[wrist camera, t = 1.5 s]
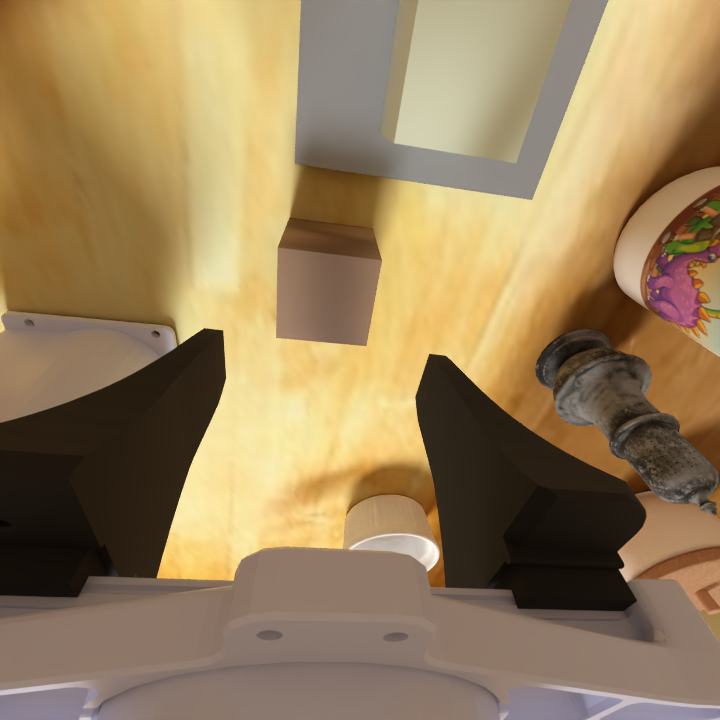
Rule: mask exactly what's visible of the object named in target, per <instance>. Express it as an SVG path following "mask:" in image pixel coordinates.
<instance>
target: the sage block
mask: <svg viewBox="0 0 720 720" xmlns="http://www.w3.org/2000/svg"><path fill="white" fill-rule="evenodd" d="M571 1H572V0H399V6H398V13H397V20H396V27H395V33H394V40H393V47H392V54H391V60H390V67H389V74H388V80H387V87H386V94H385V101H384V107H383V114H382V121H381V128H380V134H381V135H382V136H384V137H385V138H387V139H388V140H390V141H391V142H393V143H395V144H401V145H407V146H413V147H420V148H426V149H432V150H438V151H444V152H450V153H456V154H462V155H468V156H474V157H480V158H486V159H493V160H499V161H505V162H511V163H516V162H517V159H518V156H519V153H520V150H521V147H522V144H523V141H524V138H525V136H526V133H527V130H528V127H529V124H530V121H531V118H532V115H533V112H534V109H535V106H536V103H537V100H538V97H539V94H540V92H541V89H542V86H543V83H544V80H545V77H546V74H547V71H548V68H549V65H550V62H551V59H552V56H553V53H554V50H555V48H556V45H557V42H558V39H559V36H560V33H561V30H562V27H563V24H564V21H565V18H566V15H567V12H568V9H569V6H570V4H571Z"/></svg>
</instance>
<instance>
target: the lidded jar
mask: <svg viewBox="0 0 720 720" xmlns="http://www.w3.org/2000/svg"><path fill="white" fill-rule="evenodd" d="M635 496H636V497H637V498H638V500H639V501H640V502H641V504H642V505H643V507H644V508H645V509H646V515H647V517H646V520H645V523H644V525H643V527H642V528H641V529H640V531H639V532H638V533H637V534H636V535H635V536H634V537H633V538H632V539H631V540H629V541H628V542H627V543H626V544H625V545H624V546H623V547H622V548H621V549H620V550H619V551H618V554H619V555H620V557H621V559H622V560H623V562H624V568H622V569H619V570H620V572H621V574H622V576H623V577H624V579H625V581H626V582H627V581H630V580H633V579H640V578H645V579H671V580H675V581H678V583H679V584H680V585H681V587H682V588H683V590H684V591H685V593H686V594H687V596H688V597H689V598H690V600H691V601H692V603H693V604H694V606H695V607H696V608H697V610H698V611H701V610H706V611H707V613H708V614H716V613H719V612H720V607H719V605H720V519H719V518H718V517H717V516H715V515H712V514H709V513H707V512H705V511H700V505H698V504H692V503H690V504H674V503H670V502H668V501H665V500H662V499H661V498H659V497H658V496H657V495H656V494H655V493H653V491H645V492H640V493H637V494H635Z"/></svg>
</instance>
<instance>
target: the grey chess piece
mask: <svg viewBox="0 0 720 720" xmlns="http://www.w3.org/2000/svg"><path fill="white" fill-rule="evenodd" d="M536 376H537V378H538V380H539V382H540V383H541V384H542V385H544V386H545V387H547V388H549V389H552V390H553V395H554V400H555V410H556V412H557V413H558V415H559V417H560V418H561V419H563V420H564V421H565V422H567V423H570V424H573V425H577V426H593V425H596V426H598V428H599V429H600V430H601V431H602V433H603V434H604V435H605V436H606V438H607V439H608V440H609V441H610V443H609V449H610V451H611V453H612V454H613V455H614V456H616V457H618V458H621V459H626V460H627V461H628V462H629V463H630V465H631V466H632V467H633V468H634V469H635V471H636V472H637V473H638V474H639V476H640V477H641V478H642V479H643V480H644V482H645V483H646V484H647V485H648V487H649V488H650V489H651V490H652V491H653V493H655V494H656V495H657V496H658V497H659V498H661V499H662V500H665V501H668V502H670V503H674V504H690V503H692V504H697V503H698V504H699V505H700V511H705V512H707V513H709V514H712V515H717V513H716V511H717V508H716V507H715V506H716V503H715V502H711V501H709V499H708V498H709V497H710V495H711V494H712V493H713V492H714V491H715V490H716V488H717V486H718V484H719V474H718V471H717V469H716V468H715V466H714V465H713V464H712V463H711V462H710V461H709V460H707V459H706V458H705V457H704V456H703V455H702V454H701V453H700V452H699V451H698V450H697V449H696V448H695V447H694V446H693V445H692V444H691V443H690V442H689V441H688V440H687V439H685V438H684V437H683V436H682V435H681V434H680V433H679V428H680V424H679V421H678V420H677V419H676V418H675V417H674V416H672V415H669V414H665V413H660V412H659V411H658V410H657V409H656V408H655V407H654V406H653V405H652V404H651V403H650V402H649V401H648V400H647V399H646V398H645V396H644V395H645V394H646V393H647V391H648V388H649V386H650V384H651V376H652V373H651V370H650V367H649V365H648V364H647V363H646V362H645V361H644V360H643V359H641V358H639V357H637V356H635V355H630V354H625V353H623V352H621V351H617V350H614V349H612V344H611V341H610V339H609V338H608V337H607V336H606V335H605V334H604V333H602V332H600V331H598V330H593V329H581V330H575V331H572V332H569V333H566V334H564V335H562V336H561V337H559V338H557V339H556V340H554V341H553V342H552V343H550V344H549V345H548V346H547V347H546V348H545V350H544V351H543V352H542V353H541V355H540V357H539V359H538V361H537V364H536Z"/></svg>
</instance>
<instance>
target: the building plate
mask: <svg viewBox="0 0 720 720" xmlns="http://www.w3.org/2000/svg"><path fill="white" fill-rule="evenodd" d="M607 2H608V0H572V1H571V4H570V6H569V9H568V12H567V15H566V18H565V21H564V24H563V27H562V30H561V33H560V36H559V39H558V42H557V45H556V48H555V50H554V53H553V56H552V59H551V62H550V65H549V68H548V71H547V74H546V77H545V80H544V83H543V86H542V89H541V92H540V94H539V97H538V100H537V103H536V106H535V109H534V112H533V115H532V118H531V121H530V124H529V127H528V130H527V133H526V136H525V138H524V141H523V144H522V147H521V150H520V153H519V156H518V159H517V162H516V163H511V162H505V161H499V160H493V159H486V158H480V157H474V156H468V155H462V154H456V153H450V152H444V151H438V150H432V149H426V148H420V147H413V146H407V145H401V144H395V143H393V142H391V141H390V140H388V139H387V138H385V137H384V136H382V135H381V134H380V128H381V121H382V114H383V107H384V101H385V94H386V87H387V80H388V74H389V67H390V60H391V54H392V47H393V40H394V33H395V27H396V20H397V13H398V6H399V0H301V19H300V44H299V70H298V96H297V121H296V147H295V164H299V165H306V166H313V167H319V168H326V169H332V170H339V171H345V172H352V173H359V174H365V175H372V176H378V177H385V178H392V179H398V180H405V181H411V182H418V183H424V184H431V185H438V186H444V187H451V188H457V189H464V190H471V191H477V192H484V193H490V194H497V195H504V196H510V197H517V198H523V199H530V200H532V199H533V196H534V193H535V191H536V188H537V185H538V183H539V180H540V178H541V175H542V172H543V170H544V167H545V164H546V162H547V159H548V157H549V154H550V151H551V149H552V146H553V144H554V141H555V138H556V136H557V133H558V130H559V128H560V125H561V123H562V120H563V117H564V115H565V112H566V109H567V107H568V104H569V102H570V99H571V96H572V94H573V91H574V89H575V86H576V83H577V81H578V78H579V75H580V73H581V70H582V68H583V65H584V62H585V60H586V57H587V54H588V52H589V49H590V47H591V44H592V41H593V39H594V36H595V34H596V31H597V28H598V26H599V23H600V20H601V18H602V15H603V13H604V10H605V7H606V5H607Z"/></svg>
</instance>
